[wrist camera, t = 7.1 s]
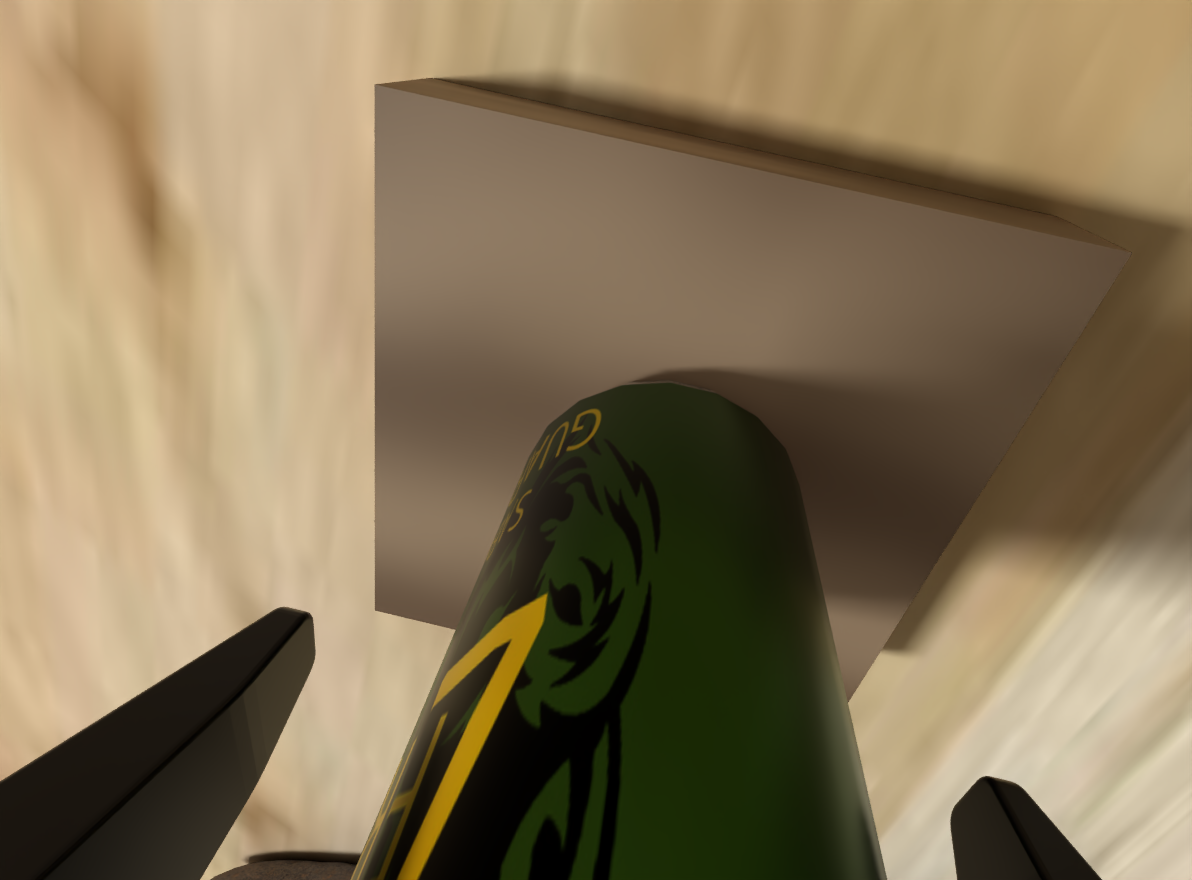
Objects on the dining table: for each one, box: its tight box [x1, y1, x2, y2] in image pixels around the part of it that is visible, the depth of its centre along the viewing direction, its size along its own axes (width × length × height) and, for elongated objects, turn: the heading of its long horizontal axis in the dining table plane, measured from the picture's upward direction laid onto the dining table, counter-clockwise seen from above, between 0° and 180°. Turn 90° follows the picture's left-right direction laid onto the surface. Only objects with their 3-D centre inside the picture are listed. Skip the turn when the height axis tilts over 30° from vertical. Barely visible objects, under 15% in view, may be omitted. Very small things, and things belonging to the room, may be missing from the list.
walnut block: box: [375, 78, 1132, 702], centre depth 14 cm, size 12×12×2 cm
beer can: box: [351, 380, 887, 880], centre depth 8 cm, size 5×5×12 cm
